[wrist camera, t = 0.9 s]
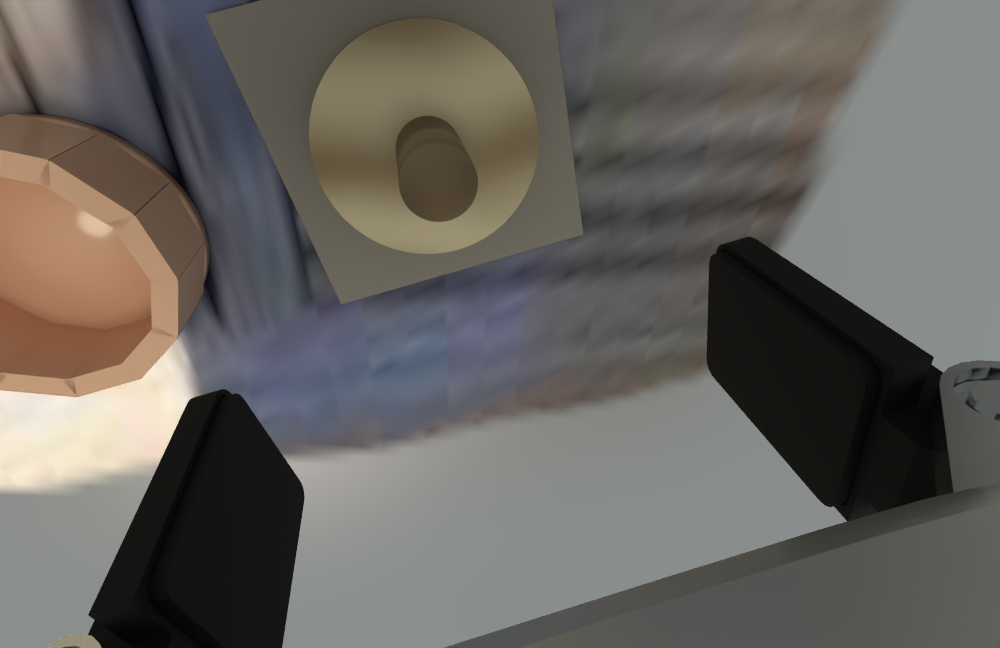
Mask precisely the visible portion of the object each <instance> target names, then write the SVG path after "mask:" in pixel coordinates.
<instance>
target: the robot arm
mask: <svg viewBox="0 0 1000 648" xmlns="http://www.w3.org/2000/svg"><path fill="white" fill-rule="evenodd" d="M932 360H933V356H931V355H930V354H928V353H926V352H925V351H924V350H922V349H920V348H919V347H918V346H916V345H915V344H913V343H912V342H910V341H909V340H907V339H905V338H904V337H903V336H901V335H900V334H898V333H897V332H895V331H894V330H892V329H891V328H889V327H887V326H886V325H884V324H883V323H881V322H880V321H878V320H877V319H875V318H874V317H872V316H871V315H869V314H868V313H866V312H865V311H863V310H862V309H860V308H859V307H857V306H856V305H854V304H853V303H851V302H850V301H848V300H847V299H845V298H844V297H842V296H841V295H839V294H838V293H836V292H835V291H833V290H832V289H830V288H829V287H827V286H826V285H824V284H822V283H821V282H820V281H818V280H817V279H815V278H813V277H812V276H811V275H809V274H808V273H806V272H805V271H803V270H802V269H800V268H799V267H797V266H796V265H794V264H793V263H791V262H790V261H788V260H787V259H785V258H783V257H782V256H780V255H779V254H777V253H776V252H774V251H773V250H771V249H770V248H768V247H767V246H765V245H764V244H762V243H761V242H759V241H758V240H756V239H755V238H752V237H746V238H742V239H739V240H735V241H732V242H729V243H725V244H722V245H720V246H719V247H718V249H717V252H716V254H714V255H712V256H711V258H710V262H709V293H708V331H707V364H708V368H709V370H710V372H711V374H712V376H713V377H714V378H715V380H716V381H717V382H718V383H719V384H720V385H721V387H722V388H723V389H724V390H725V391H726V392H727V393H728V395H729V396H730V397H731V398H732V399H733V400H734V402H735V403H736V404H737V405H738V406H739V407H740V409H741V410H742V411H743V412H744V413H745V414H746V416H747V417H748V418H749V419H750V420H751V421H752V423H753V424H754V425H755V426H756V427H757V428H758V430H759V431H760V432H761V433H762V434H763V435H764V436H765V438H766V439H767V440H768V441H769V442H770V444H772V446H773V447H774V448H775V449H776V450H777V452H778V453H779V454H780V455H781V456H782V457H783V459H784V460H785V461H786V462H787V463H788V464H789V465H790V467H791V468H792V469H793V470H794V471H795V473H796V474H797V475H798V476H799V477H800V478H801V480H802V481H803V482H804V483H805V484H806V485H807V487H809V489H810V490H811V491H812V492H813V494H814V495H815V496H816V497H817V498H818V499H819V500H820V501H821V502H822V503H823V504H824V505H826V506H828V507H832V506H834V507H835V508H836V509H837V510H838V511H839V512H840V513H841V515H842V516H843V517H844V518H845V519H846V520H847V522H844V523H841V524H837V525H834V526H831V527H827V528H824V529H821V530H817V531H814V532H811V533H807V534H804V535H801V536H798V537H795V538H791V539H788V540H785V541H782V542H778V543H775V544H772V545H769V546H766V547H763V548H759V549H756V550H753V551H750V552H746V553H743V554H740V555H737V556H734V557H730V558H727V559H724V560H721V561H718V562H714V563H711V564H708V565H704V566H701V567H698V568H695V569H692V570H688V571H685V572H682V573H679V574H676V575H672V576H669V577H666V578H663V579H660V580H656V581H654V582H650V583H647V584H644V585H641V586H637V587H634V588H631V589H628V590H625V591H621V592H618V593H615V594H612V595H609V596H606V597H603V598H599V599H596V600H593V601H590V602H587V603H584V604H580V605H577V606H574V607H571V608H568V609H564V610H561V611H558V612H555V613H552V614H549V615H546V616H542V617H539V618H536V619H533V620H530V621H527V622H524V623H520V624H517V625H514V626H511V627H508V628H505V629H502V630H498V631H495V632H492V633H489V634H486V635H483V636H479V637H476V638H473V639H470V640H467V641H464V642H461V643H457V644H454V645H452V646H448V647H445V648H1000V362H999V361H980V360H978V361H970V362H962V363H959V364H957V365H954V366H951V367H949V368H948V369H947V370H946V371H945V372H944V373H943V372H941V371H940V370H938V369H937V368H935V367H934V366H933V365H931V364H932ZM303 504H304V491H303V487H302V484H301V482H300V480H299V479H298V477H297V476H296V474H295V473H294V471H293V470H292V469H291V467H290V466H289V464H288V463H287V461H286V460H285V458H284V457H283V455H282V454H281V452H280V451H279V450H278V448H277V447H276V445H275V444H274V442H273V441H272V439H271V438H270V436H269V435H268V434H267V432H266V431H265V429H264V428H263V426H262V425H261V423H260V422H259V420H258V419H257V418H256V416H255V415H254V413H253V412H252V410H251V409H250V407H249V406H248V404H247V403H246V402H245V400H244V399H243V398H242V396H241V395H239V394H231V393H230V392H229V391H227V390H223V389H222V390H218V391H215V392H211V393H208V394H204V395H201V396H198V397H194V398H192V399H190V401H189V402H188V403H187V405H186V408H185V410H184V412H183V414H182V416H181V418H180V420H179V423H178V425H177V427H176V429H175V431H174V433H173V435H172V437H171V440H170V442H169V444H168V446H167V448H166V450H165V452H164V455H163V457H162V459H161V461H160V463H159V465H158V467H157V470H156V472H155V474H154V476H153V478H152V480H151V482H150V484H149V487H148V489H147V491H146V493H145V495H144V497H143V499H142V502H141V504H140V506H139V508H138V510H137V512H136V514H135V516H134V519H133V521H132V523H131V525H130V527H129V529H128V531H127V534H126V536H125V538H124V540H123V542H122V544H121V547H120V548H119V551H118V553H117V555H116V557H115V559H114V561H113V564H112V566H111V568H110V570H109V572H108V574H107V576H106V578H105V580H104V583H103V585H102V587H101V589H100V591H99V593H98V595H97V598H96V600H95V602H94V604H93V606H92V608H91V610H90V613H89V616H90V617H92V618H93V619H94V620H95V621H94V623H93V625H92V627H91V629H90V632H89V634H88V635H84V634H77V635H72V636H68V637H64V638H62V639H60V640H58V641H56V642H54V643H52V644H50V645H48V646H46V647H44V648H282V644H283V637H284V631H285V624H286V617H287V610H288V604H289V598H290V591H291V584H292V578H293V571H294V564H295V558H296V551H297V545H298V538H299V531H300V525H301V518H302V511H303Z"/></svg>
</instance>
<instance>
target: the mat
mask: <svg viewBox="0 0 1000 648" xmlns="http://www.w3.org/2000/svg"><path fill="white" fill-rule="evenodd" d="M205 17H206V19H207V21H208V23H209V25H210V28H211V30H212V32H213V34H214V36H215V38H216V40H217V42H218V44H219V47H220V49H221V51H222V53H223V55H224V57H225V59H226V61H227V64H228V66H229V68H230V70H231V72H232V74H233V76H234V78H235V80H236V83H237V85H238V87H239V89H240V91H241V93H242V95H243V97H244V100H245V102H246V104H247V106H248V108H249V110H250V112H251V114H252V116H253V119H254V121H255V123H256V125H257V127H258V129H259V131H260V133H261V136H262V138H263V140H264V142H265V144H266V146H267V148H268V150H269V152H270V155H271V157H272V159H273V161H274V163H275V165H276V167H277V169H278V172H279V174H280V176H281V178H282V180H283V182H284V184H285V186H286V188H287V191H288V193H289V195H290V197H291V199H292V201H293V203H294V205H295V208H296V210H297V212H298V214H299V216H300V218H301V220H302V222H303V224H304V227H305V229H306V231H307V233H308V235H309V237H310V239H311V241H312V244H313V246H314V248H315V250H316V252H317V254H318V256H319V258H320V260H321V263H322V265H323V267H324V269H325V271H326V273H327V275H328V277H329V280H330V282H331V284H332V286H333V288H334V290H335V292H336V294H337V296H338V299H339V301H340V303H341V304H344V303H348V302H351V301H355V300H358V299H362V298H365V297H368V296H372V295H375V294H379V293H382V292H386V291H389V290H393V289H396V288H400V287H403V286H407V285H410V284H414V283H417V282H421V281H424V280H428V279H431V278H434V277H438V276H441V275H445V274H448V273H452V272H455V271H459V270H462V269H466V268H469V267H473V266H476V265H480V264H483V263H487V262H490V261H494V260H497V259H500V258H504V257H507V256H511V255H514V254H518V253H521V252H525V251H528V250H532V249H535V248H539V247H542V246H546V245H549V244H553V243H556V242H560V241H563V240H566V239H570V238H573V237H577V236H580V235H583V228H582V220H581V212H580V205H579V197H578V189H577V182H576V174H575V166H574V159H573V151H572V143H571V135H570V128H569V120H568V112H567V105H566V97H565V89H564V82H563V74H562V66H561V58H560V51H559V43H558V35H557V28H556V20H555V12H554V5H553V0H260V1H256V2H252V3H248V4H245V5H241V6H237V7H233V8H229V9H225V10H222V11H218V12H214V13H210V14H206V15H205ZM422 17H423V18H432V19H440V20H443V21H447V22H451V23H454V24H457V25H459V26H461V27H464V28H466V29H468V30H470V31H473V32H475V33H476V34H478V35H479V36H481V37H483V38H484V39H486V40H487V41H489V42H490V43H491V44H492V45H494V46H495V47H496V48H497V49H498V50H500V51H501V52H502V53H503V54H504V55H505V57H506V58H507V59H508V60H509V61H510V62H511V63H512V64H513V66H514V67H515V69H516V70H517V72H518V73H519V74H520V76H521V78H522V79H523V81H524V83H525V85H526V87H527V89H528V91H529V94H530V96H531V99H532V102H533V105H534V108H535V113H536V117H537V123H538V133H539V147H538V157H537V163H536V168H535V171H534V175H533V178H532V181H531V183H530V186H529V188H528V191H527V193H526V194H525V196H524V198H523V200H522V202H521V203H520V205H519V206H518V207H517V209H516V210H515V211H514V213H513V214H512V215H511V216H510V217H509V218H508V220H507V221H506V222H505V223H504V224H503V225H502V226H500V227H499V228H498V229H497V230H496V231H494V232H493V233H492V234H490V235H489V236H487V237H486V238H484V239H482V240H481V241H478V242H476V243H474V244H472V245H470V246H468V247H465V248H462V249H459V250H455V251H451V252H446V253H437V254H416V253H409V252H404V251H400V250H396V249H392V248H390V247H387V246H384V245H382V244H379V243H377V242H376V241H374V240H372V239H370V238H368V237H366V236H365V235H364V234H362V233H361V232H359V231H358V230H356V229H355V228H354V227H353V226H352V225H351V224H349V223H348V222H347V221H346V220H345V219H344V218H343V217H342V216H341V215H340V213H339V212H338V211H337V210H336V209H335V208H334V206H333V205H332V203H331V202H330V200H329V199H328V197H327V196H326V194H325V192H324V190H323V188H322V186H321V185H320V183H319V180H318V178H317V175H316V172H315V169H314V166H313V162H312V157H311V153H310V144H309V120H310V114H311V108H312V103H313V100H314V97H315V94H316V91H317V88H318V86H319V84H320V82H321V80H322V78H323V76H324V74H325V72H326V71H327V69H328V68H329V66H330V65H331V63H332V62H333V61H334V59H335V58H336V56H337V55H338V54H339V53H340V52H341V51H342V50H343V49H344V48H345V47H346V46H347V45H348V44H349V43H350V42H352V41H353V40H354V39H355V38H357V37H358V36H359V35H361V34H362V33H364V32H366V31H368V30H370V29H372V28H374V27H375V26H378V25H381V24H384V23H387V22H389V21H393V20H399V19H404V18H422Z"/></svg>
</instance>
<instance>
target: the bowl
mask: <svg viewBox="0 0 1000 648" xmlns="http://www.w3.org/2000/svg"><path fill="white" fill-rule="evenodd" d="M209 261H210V254H209V243H208V238H207V233H206V230H205V227H204V225H203V222H202V219H201V217H200V215H199V213H198V211H197V209H196V207H195V205H194V204H193V202H192V201H191V199H190V198H189V196H188V195H187V193H186V192H185V191H184V189H183V188H182V187H181V186H180V185H179V183H178V182H177V181H176V180H175V179H174V178H173V177H172V176H171V175H170V174H169V173H168V172H167V171H166V170H165V169H164V168H163V167H162V166H161V165H160V164H159V163H157V162H156V161H155V160H153V159H152V158H151V157H150V156H148V155H147V154H146V153H144V152H143V151H141V150H140V149H138V148H137V147H135V146H133V145H132V144H130V143H129V142H127V141H125V140H123V139H121V138H119V137H117V136H115V135H114V134H112V133H110V132H107V131H105V130H102V129H100V128H97V127H95V126H92V125H90V124H87V123H83V122H80V121H76V120H73V119H69V118H64V117H58V116H53V115H45V114H31V113H25V114H13V113H12V114H7V115H2V116H0V390H4V391H15V392H26V393H37V394H48V395H59V396H70V397H80V396H83V395H86V394H90V393H93V392H97V391H100V390H104V389H107V388H111V387H114V386H118V385H121V384H124V383H128V382H131V381H135V380H138V379H141V378H142V377H143V376H144V375H145V374H146V373H147V372H148V371H149V370H150V368H151V367H152V366H153V365H154V364H155V363H156V362H157V361H158V360H159V358H160V357H161V356H162V355H163V354H164V353H165V352H166V351H167V349H168V348H169V347H170V346H171V345H172V344H173V343H174V342H175V341H176V339H177V338H178V337H179V335H180V333H181V332H182V330H183V328H184V326H185V325H186V323H187V321H188V319H189V318H190V316H191V314H192V312H193V311H194V309H195V307H196V305H197V304H198V302H199V300H200V298H201V297H202V295H203V293H204V283H205V281H206V277H207V274H208V270H209Z"/></svg>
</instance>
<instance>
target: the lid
mask: <svg viewBox="0 0 1000 648" xmlns="http://www.w3.org/2000/svg"><path fill="white" fill-rule="evenodd" d="M309 144H310V153H311V157H312V162H313V166H314V169H315V172H316V175H317V178H318V180H319V183H320V185H321V186H322V188H323V190H324V192H325V194H326V196H327V197H328V199H329V200H330V202H331V203H332V205H333V206H334V208H335V209H336V210H337V211H338V212H339V213H340V215H341V216H342V217H343V218H344V219H345V220H346V221H347V222H348V223H349V224H351V225H352V226H353V227H354V228H355V229H356V230H358V231H359V232H361V233H362V234H364V235H365V236H366V237H368V238H370V239H372V240H374V241H376V242H377V243H379V244H382V245H384V246H387V247H390V248H392V249H396V250H400V251H404V252H409V253H416V254H437V253H446V252H451V251H455V250H459V249H462V248H465V247H468V246H470V245H472V244H474V243H476V242H478V241H481V240H482V239H484V238H486V237H487V236H489V235H490V234H492V233H493V232H494V231H496V230H497V229H498V228H499V227H500V226H502V225H503V224H504V223H505V222H506V221H507V220H508V218H509V217H510V216H511V215H512V214H513V213H514V211H515V210H516V209H517V207H518V206H519V205H520V203H521V202H522V200H523V198H524V196H525V194H526V193H527V191H528V188H529V186H530V183H531V181H532V178H533V175H534V171H535V168H536V163H537V157H538V147H539V133H538V123H537V117H536V113H535V108H534V105H533V102H532V99H531V96H530V94H529V91H528V89H527V87H526V85H525V83H524V81H523V79H522V78H521V76H520V74H519V73H518V72H517V70H516V69H515V67H514V66H513V64H512V63H511V62H510V61H509V60H508V59H507V58H506V57H505V55H504V54H503V53H502V52H501V51H500V50H498V49H497V48H496V47H495V46H494V45H492V44H491V43H490V42H489V41H487V40H486V39H484V38H483V37H481V36H479V35H478V34H476V33H475V32H473V31H470V30H468V29H466V28H464V27H461V26H459V25H457V24H454V23H451V22H447V21H443V20H440V19H432V18H423V17H422V18H404V19H399V20H393V21H389V22H387V23H384V24H381V25H378V26H375V27H374V28H372V29H370V30H368V31H366V32H364V33H362V34H361V35H359V36H358V37H357V38H355V39H354V40H353V41H352V42H350V43H349V44H348V45H347V46H346V47H345V48H344V49H343V50H342V51H341V52H340V53H339V54H338V55H337V56H336V58H335V59H334V61H333V62H332V63H331V65H330V66H329V68H328V69H327V71H326V72H325V74H324V76H323V78H322V80H321V82H320V84H319V86H318V88H317V91H316V94H315V97H314V100H313V103H312V108H311V114H310V120H309Z"/></svg>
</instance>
